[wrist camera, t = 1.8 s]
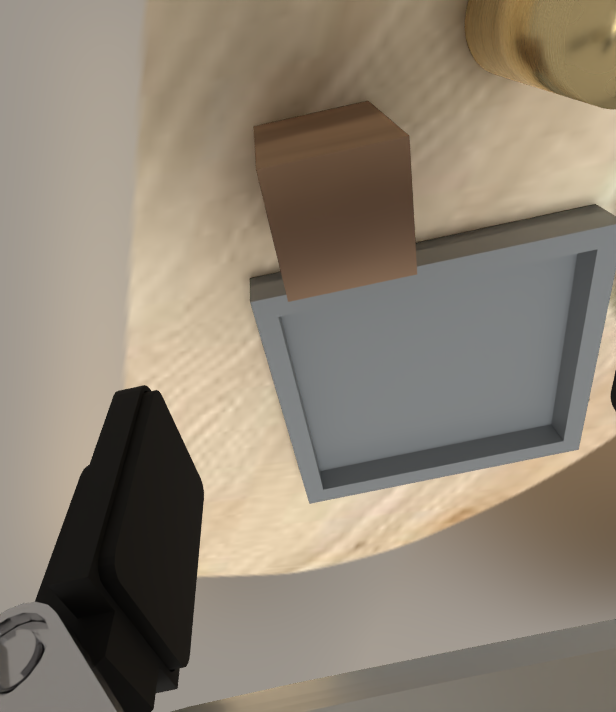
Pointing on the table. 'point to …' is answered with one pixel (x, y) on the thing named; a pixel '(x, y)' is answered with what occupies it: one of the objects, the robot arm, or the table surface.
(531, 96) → the table surface
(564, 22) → the brass cylinder
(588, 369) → the tray
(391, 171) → the walnut block
